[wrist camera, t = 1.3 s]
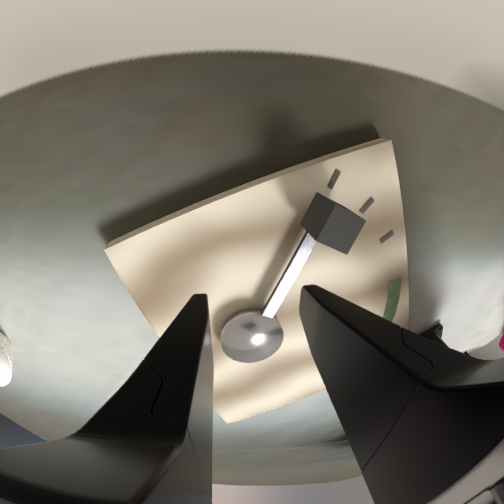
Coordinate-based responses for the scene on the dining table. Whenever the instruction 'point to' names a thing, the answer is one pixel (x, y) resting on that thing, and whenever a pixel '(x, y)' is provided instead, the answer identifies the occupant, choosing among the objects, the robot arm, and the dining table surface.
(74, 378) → the dining table surface
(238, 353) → the dial needle
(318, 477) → the dining table surface
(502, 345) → the pepper mill
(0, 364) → the white rounded lump
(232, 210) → the dial board
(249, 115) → the dining table surface
